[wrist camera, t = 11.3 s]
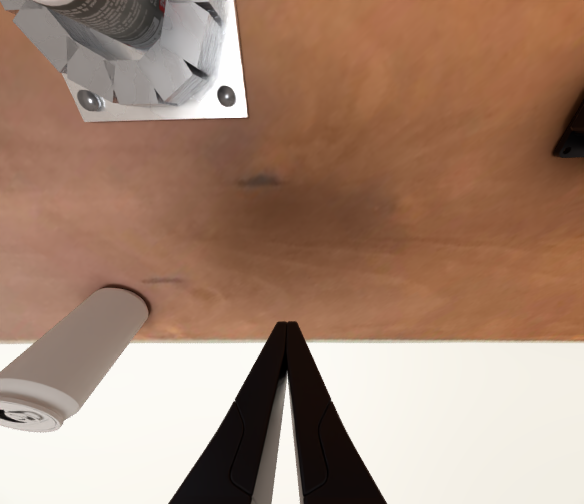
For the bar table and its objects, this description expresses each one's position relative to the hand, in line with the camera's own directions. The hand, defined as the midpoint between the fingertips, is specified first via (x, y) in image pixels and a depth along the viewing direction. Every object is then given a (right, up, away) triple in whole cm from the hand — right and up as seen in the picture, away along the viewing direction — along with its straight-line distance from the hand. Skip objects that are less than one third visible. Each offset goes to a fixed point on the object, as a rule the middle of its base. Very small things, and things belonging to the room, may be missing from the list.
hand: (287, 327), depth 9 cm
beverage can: (-21, -3, +17) cm, 27 cm away
